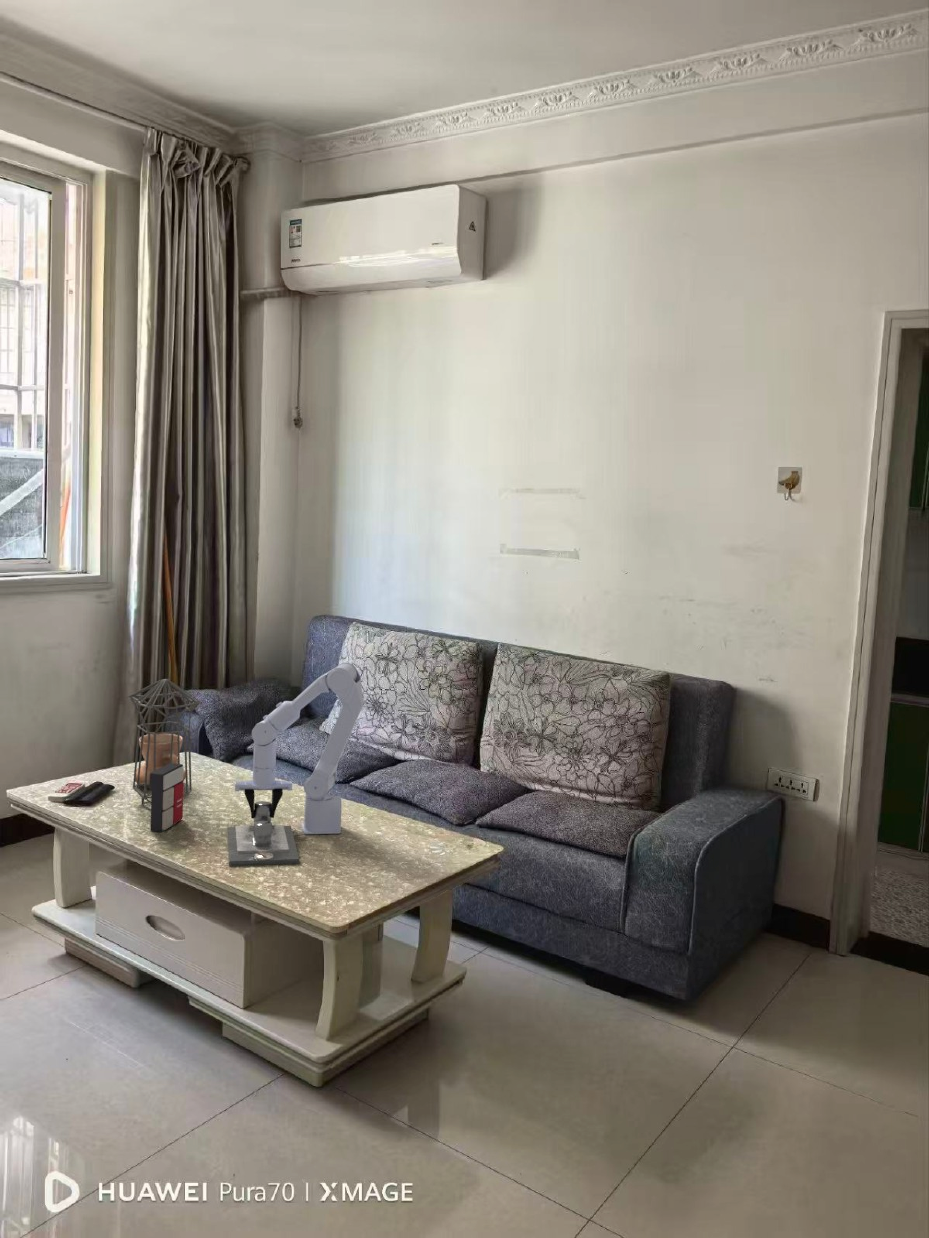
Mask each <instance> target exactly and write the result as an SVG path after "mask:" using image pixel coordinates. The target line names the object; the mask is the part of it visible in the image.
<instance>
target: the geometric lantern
mask: <svg viewBox="0 0 929 1238" xmlns="http://www.w3.org/2000/svg"><path fill="white" fill-rule="evenodd" d="M161 691H162V693H161ZM167 691H169V693H168V692H167ZM144 692H146V693H144ZM142 693H144V695H143V694H142ZM160 693H161V694H160ZM140 694H142V695H140ZM177 694H179V695H181V697H182V700H183V704H182V705H181V704H180V705H179V704H178V702H177V700H176V697H175V696H177ZM168 696H170V697H169V698H168ZM158 697H160V698H161V699H160V704H158V705H156V704H155V703H156V701H157V700H158ZM129 698H130V701H131V702H132V704H133V706H134V713H135V714H136V713H137V715H139V721H140V724H138V725H136V727H137V736H136V737H137V738H136V746H135V747H136V748H135V761H134V772H133V781H132V783H133V784H132V789H133V791H135V792H136V793H137V794H138V795H139V796H140V798H141V805H140V806H142V807H144V808H145V809H147V810H149V811H151V807H149V806H147V805H145V804H151V800H150V799H151V793H150V794H147V788H146V785H149V783H147V771H148V759H149V746H150V734H152V735H154V771H155V770H156V734H171V750H170V763H172V750H173V734H176V735H177V741H178V757H177V758H178V764H181V759H180V758H181V756H180V755H181V749H180V741H179V736H180V733H183V737H184V738H183V739H184V740H183V744H184V745H183V747H184V770H185V776H186V778H185V784H184V788H185V792H183V799H184V798H185V797H186V796H188V795H189V794H190V793H192V789H193V787H192V785H193V784H192V761H191V759H192V758H191V757H192V756H191V755H192V754H191V730H190V729H191V715H192V712H193V711H194V710H196V708H197V707H199V705H200V704H202V701H201V700H199V699H198V698H196V697H194V696H193V694H190V693H189V692H187V691H186V690H184V689H183V688H182V687H180V686H179V685H177V684H176V683H174V682H173V681H171V680H170V679H168V678H164V679H160V680H158V681H155V682H153V683H152V684H150V685H148V686H146V687H144V688H142V689H140V690H138V691H136V692H134V693H131V695H128V696H126V699H129ZM154 698H155V699H154ZM147 699H149V700H148V701H146V700H147ZM153 700H154V701H153ZM163 700H164V703H163ZM171 700H173V703H174V705H175V706H168V703H169V702H170V701H171ZM143 703H144V704H143ZM140 706H141V707H143V709H142V711H140ZM160 708H162V709H164V711H165V713H164V712H163V711H162V710H160ZM181 708H183V710H182V711H181V712H179V713H178V709H181ZM151 709H153V710H155V711H156V712H158V713H159V714H160V715H162V716H164V717H165V719H164V720H163V721H162V722H161V721H160V722H150V723H146V720H147V717H148V715H149V712H150V710H151ZM146 710H147V711H146ZM168 710H175V715H174V714H173V715H171V714H170V712H169V711H168ZM145 711H146V713H145V715H144V717H143V714H144V712H145ZM186 712H189V716H188V717H189V718H188V719H189V720H188V727H186V726H185V725H183V723H182V722H183V721H182V718H183V716H184V714H185V713H186ZM174 718H177V721H176V720H175V719H174ZM167 719H171V720H172V721H167ZM169 723H170V724H171V731H167V732H166V731H164V732H158V731H159V730H160V728H161V727H162V726H163V725H164V724H169ZM159 724H160V725H159ZM149 725H159V726H158V728H157V729H156V730H155V731H154V732H151V731H149V729H148V726H149ZM175 725H176V727H177V729H176V731H174V730H175V729H174V728H175ZM180 726H181V728H182V730H180ZM140 733H141V734H140ZM145 734H146V735H148V744H147V757H146V762H145V763H146V770H145V783H143V784H139V778H140V768H141V766H142V759H143V755H142V748H143V738H144V735H145ZM140 735H141V736H140ZM140 737H141V747H140V745H139V738H140ZM187 740H188V741H187ZM187 744H188V745H187ZM187 746H188V751H187ZM139 749H140V750H139ZM138 757H139V758H138ZM137 766H138V768H137ZM137 769H138V778H137V783H136V782H135V781H136V770H137ZM142 785H144V787H143V786H142ZM140 787H143V792H142V790H141V789H140ZM145 800H146V801H145Z"/></svg>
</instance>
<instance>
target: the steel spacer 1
mask: <svg viewBox="0 0 929 1238" xmlns="http://www.w3.org/2000/svg"><path fill="white" fill-rule="evenodd" d="M271 807H272V802H270V801H264V800H259V801H256V802H254V818H253V824H254V823H255V822H257V821H269V822H271V823H272V818H271Z"/></svg>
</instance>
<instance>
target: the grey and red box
mask: <svg viewBox="0 0 929 1238" xmlns="http://www.w3.org/2000/svg"><path fill="white" fill-rule="evenodd" d="M183 769H184V770H185V766H184V764H182V763H180V764H176V763H169V764H167V765H165V766H163V767H161V768H159V769H157V770H155V771H153V772H151V773H150V782H149V788H148V789H149V790H150V792H151V793H150V794H151V798H150V801H151V803H150V809H151V810H150V831H151V832H158V833H162V832H164V831H165V830H167V829H169V828H170V827H172V826H173V825H175V824H177V823H179V822H180V821H181V820H183V816H184V815H183V814H184V798H183V793H185V791H184V788H185V787H184V785H185V783H184V781H183Z"/></svg>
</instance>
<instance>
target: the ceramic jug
mask: <svg viewBox="0 0 929 1238" xmlns="http://www.w3.org/2000/svg"><path fill="white" fill-rule="evenodd" d="M141 737H142V736H139V748H140V747H141ZM183 739H184V738H183V736H181V735H179V741H180V750H181V748H182V746H183V742H184V740H183ZM147 744H148V734H146V735H145V734H144V738H143V748H142V759H144V762H145V763H144V764H141V768H140V778H139V784H143V783H145V770H146V757H147ZM170 750H171V733H168V734H156V770H157V769H159V768H161V767H163V766H165V765H167V764H169V763H170ZM172 763H176V764H178V741H177V734H175V733H173V750H172ZM153 771H154V735H152V734H150V746H149V759H148V771H147V783H149V782H150V773H151V772H153ZM137 778H138V768H137V770H136V781H135V784H137ZM184 781H186V776H185V768H184V769H183V782H184ZM141 787H143V788H144V785H142V786H141ZM146 789H150V788H149V785H146Z"/></svg>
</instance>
